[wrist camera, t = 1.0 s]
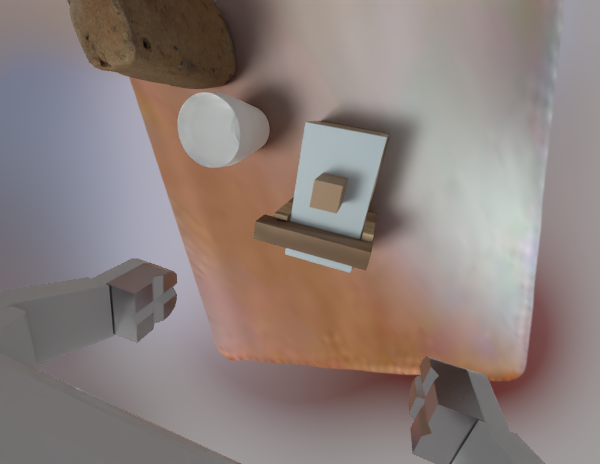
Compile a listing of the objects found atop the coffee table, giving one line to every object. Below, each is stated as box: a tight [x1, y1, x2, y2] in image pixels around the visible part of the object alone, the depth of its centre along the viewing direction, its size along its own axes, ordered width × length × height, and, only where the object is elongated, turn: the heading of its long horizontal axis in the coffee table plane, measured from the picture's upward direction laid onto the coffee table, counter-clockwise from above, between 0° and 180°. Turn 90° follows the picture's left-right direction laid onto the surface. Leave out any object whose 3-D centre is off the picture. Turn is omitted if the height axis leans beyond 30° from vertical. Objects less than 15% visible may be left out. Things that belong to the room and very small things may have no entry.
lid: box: [285, 122, 387, 273], centre depth 35 cm, size 18×10×6 cm, turn 171°
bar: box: [254, 215, 372, 270], centre depth 37 cm, size 2×15×3 cm, turn 81°
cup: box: [177, 93, 270, 168], centre depth 40 cm, size 9×9×12 cm
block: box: [67, 0, 236, 89], centre depth 34 cm, size 11×8×20 cm
